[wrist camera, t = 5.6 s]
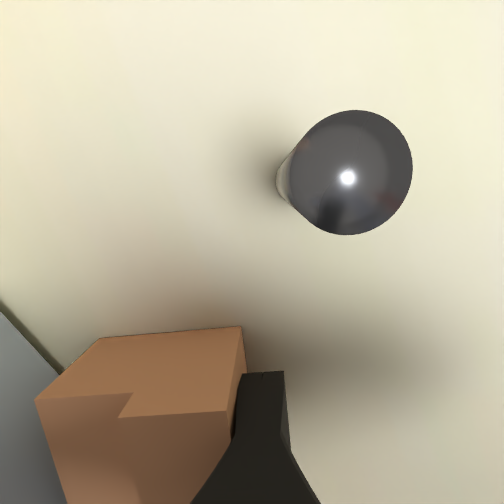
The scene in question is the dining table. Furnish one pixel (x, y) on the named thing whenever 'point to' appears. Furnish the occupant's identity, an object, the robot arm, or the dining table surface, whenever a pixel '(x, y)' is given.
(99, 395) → the notched block
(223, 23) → the dining table surface
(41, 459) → the door
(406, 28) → the dining table surface
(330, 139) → the door frame
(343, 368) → the dining table surface
